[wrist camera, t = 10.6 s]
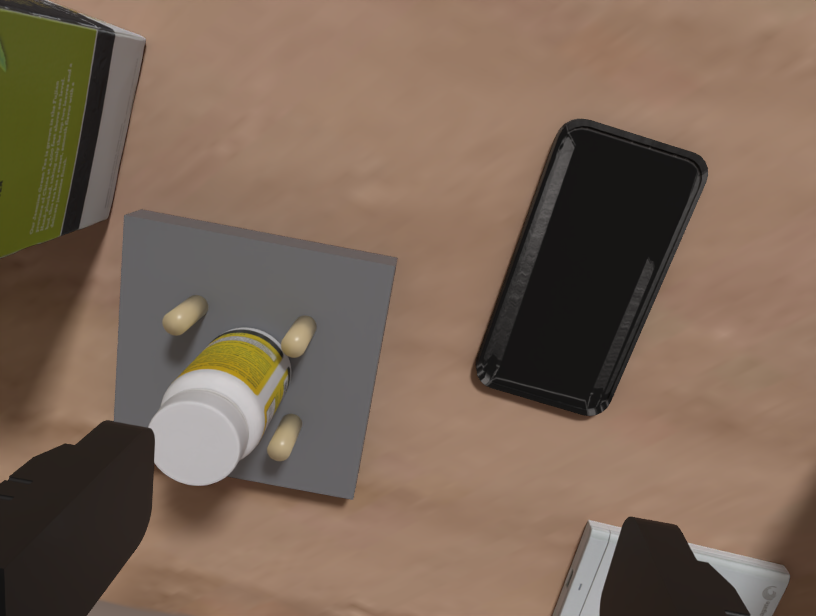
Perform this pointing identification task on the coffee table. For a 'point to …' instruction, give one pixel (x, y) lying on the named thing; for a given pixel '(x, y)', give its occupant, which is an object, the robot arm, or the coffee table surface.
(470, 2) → the coffee table surface
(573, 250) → the phone
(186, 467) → the supplement bottle
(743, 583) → the hard drive
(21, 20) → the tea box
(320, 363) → the standoff chassis
